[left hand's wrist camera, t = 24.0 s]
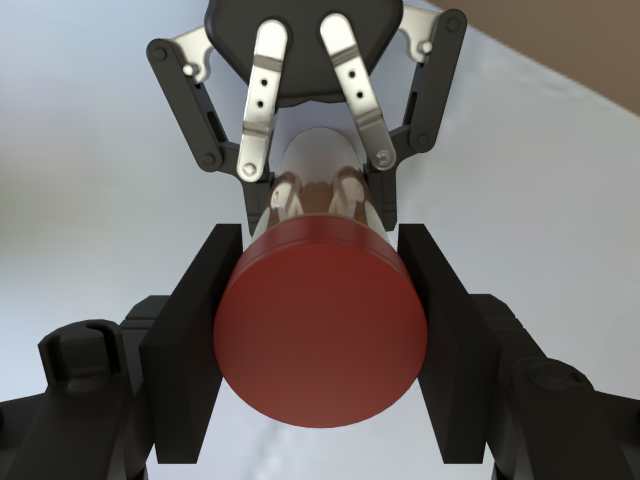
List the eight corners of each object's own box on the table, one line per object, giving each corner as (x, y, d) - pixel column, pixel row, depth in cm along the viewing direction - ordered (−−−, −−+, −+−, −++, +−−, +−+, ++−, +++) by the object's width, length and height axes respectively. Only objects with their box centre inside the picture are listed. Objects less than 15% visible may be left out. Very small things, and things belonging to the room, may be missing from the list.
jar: (346, 206, 30) (384, 410, 12) (277, 190, 29) (214, 379, 12) (364, 136, 28) (437, 257, 11) (291, 119, 28) (243, 215, 10)
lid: (288, 405, 13) (283, 456, 12) (190, 273, 12) (168, 308, 10) (443, 334, 12) (463, 378, 11) (359, 180, 11) (366, 202, 9)
